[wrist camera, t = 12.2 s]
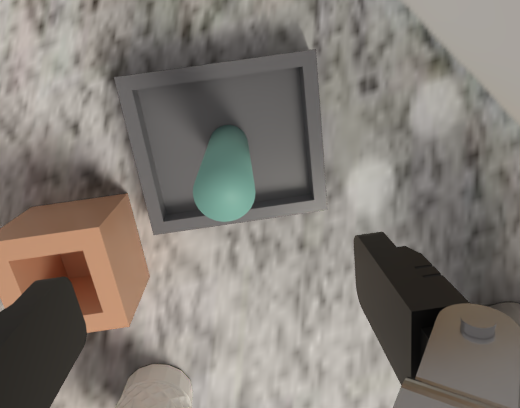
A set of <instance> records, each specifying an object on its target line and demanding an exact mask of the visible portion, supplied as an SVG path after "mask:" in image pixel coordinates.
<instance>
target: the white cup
mask: <svg viewBox="0 0 520 408" xmlns="http://www.w3.org/2000/svg"><path fill="white" fill-rule="evenodd" d="M192 399H193V390H192V385H191V381H190V379H189V378H188V377H187V376H186V375H185V374H184V373H183V372H182V371H181V370H179V369H177V368H175V367H172V366H170V365H164V364H151V365H148V366H145V367H142V368H139V369H138V370H137V371H135V372H134V373H133V374H132V375H131V376H130V377H129V378H128V380H127V383H126V385H125V388H124V390H123V393H122V395H121V398H120V400H119V402H118V403H117V404H116V407H115V408H192Z"/></svg>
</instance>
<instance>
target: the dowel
mask: <svg viewBox="0 0 520 408" xmlns="http://www.w3.org/2000/svg"><path fill="white" fill-rule="evenodd" d="M193 198H194V201H195V204H196V206H197V207H198V209H199V210H200V211H201V212H202V213H203V214H204V215H205V216H207V217H208V218H210V219H213V220H216V221H221V222H228V221H234V220H236V219H239V218H241V217H242V216H244V215H245V214H246V213H247V212H248V211H249V210H250V208H251V207H252V205H253V203H254V200H255V184H254V178H253V171H252V165H251V159H250V152H249V146H248V140H247V137H246V135H245V133H244V132H243V131H242V130H241V129H240V128H238V127H236V126H233V125H224V126H221V127H219V128H217V129H216V130H215V131H214V132H213V133H212V135H211V137H210V140H209V143H208V146H207V149H206V151H205V154H204V157H203V160H202V163H201V166H200V168H199V171H198V174H197V177H196V180H195V183H194V186H193Z"/></svg>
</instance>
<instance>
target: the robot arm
mask: <svg viewBox="0 0 520 408" xmlns="http://www.w3.org/2000/svg"><path fill="white" fill-rule="evenodd" d="M354 256H355V276H356V289H357V295H358V299H359V302H360V305H361V307H362V309H363V311H364V313H365V315H366V317H367V319H368V321H369V323H370V325H371V327H372V329H373V331H374V333H375V335H376V337H377V339H378V341H379V342H380V344H381V346H382V348H383V350H384V352H385V354H386V356H387V358H388V360H389V362H390V364H391V366H392V368H393V370H394V372H395V374H396V376H397V378H398V380H399V381H400V383H401V385H402V386H401V388H400V391H399V393H398V396H397V398H396V401H395V404H394V406H393V408H520V303H511V302H507V303H499V304H495V305H492V306H489V307H487V306H483V305H478V304H470V303H469V302H468V301H467V300H466V299H465V298H464V297H463V296H462V295H461V294H460V293H459V292H458V291H457V290H456V289H455V288H454V287H453V286H452V284H451V283H450V282H449V281H448V280H447V279H446V278H445V277H444V276H443V275H442V276H441V275H440V272H439V271H438V270H437V269H436V268H435V267H434V266H433V267H432V264H431V263H430V262H429V261H428V260H427V259H426V258H425V257H424V256H423V255H422V254H421V253H418V252H416V251H414V250H412V249H410V248H408V247H406V246H403V247H396V246H395V245H394V244H393V242H392V241H391V240H390V239H389V238H388V237H387V236H386V235H385V233H384V232H377V233H369V234H362V235H356V236H355V238H354ZM86 336H87V329H86V323H85V320H84V317H83V314H82V311H81V308H80V305H79V303H78V300H77V297H76V294H75V291H74V288H73V285H72V283H71V281H70V280H69V279H68V278H67V277H57V278H50V279H43V280H36V281H34V282H33V283H32V284H31V285H30V286H29V287H28V288H27V289H26V290H25V291H24V293H23V294H22V295H21V296H20V297H19V298H18V299H17V300H16V301H15V302H14V303H13V304H11V305H10V306H8V307H7V308H5V309H4V310H2V311H1V312H0V408H50V406H51V404H52V403H53V401H54V399H55V397H56V395H57V394H58V392H59V390H60V388H61V386H62V385H63V383H64V381H65V379H66V377H67V376H68V374H69V372H70V370H71V369H72V367H73V365H74V363H75V361H76V360H77V358H78V356H79V354H80V352H81V351H82V349H83V347H84V345H85V342H86Z"/></svg>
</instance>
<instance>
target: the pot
mask: <svg viewBox="0 0 520 408" xmlns="http://www.w3.org/2000/svg"><path fill="white" fill-rule="evenodd" d="M57 277H67V278H68V279H69V280H70V281H71V283H72V285H73V288H74V291H75V294H76V297H77V300H78V303H79V305H80V308H81V311H82V314H83V317H84V320H85V323H86V329H87V333H89V332H96V331H103V330H110V329H117V328H124V327H129V326H130V324H131V321H132V319H133V317H134V314H135V312H136V309H137V307H138V304H139V302H140V299H141V297H142V294H143V292H144V290H145V287H146V285H147V282H148V280H149V277H150V275H149V272H148V268H147V264H146V260H145V257H144V253H143V249H142V245H141V242H140V238H139V234H138V230H137V227H136V223H135V219H134V215H133V212H132V208H131V204H130V200H129V197H128V193H126V194H119V195H112V196H105V197H98V198H91V199H84V200H77V201H70V202H63V203H56V204H49V205H42V206H35V207H31V208H29V209H28V210H26V211H25V212H23V213H22V214H21V215H19V216H18V217H16V218H15V219H13V220H12V221H10V222H9V223H7V224H6V225H5V226H3V227H2V228H0V298H1V300H2V303H3V305H4V307H5V308H7V307H8V306H10V305H11V304H13V303H14V302H15V301H16V300H17V299H18V298H19V297H20V296H21V295H22V294H23V293H24V291H25V290H26V289H27V288H28V287H29V286H30V285H31V284H32V283H33V282H34V281H36V280H43V279H50V278H57Z"/></svg>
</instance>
